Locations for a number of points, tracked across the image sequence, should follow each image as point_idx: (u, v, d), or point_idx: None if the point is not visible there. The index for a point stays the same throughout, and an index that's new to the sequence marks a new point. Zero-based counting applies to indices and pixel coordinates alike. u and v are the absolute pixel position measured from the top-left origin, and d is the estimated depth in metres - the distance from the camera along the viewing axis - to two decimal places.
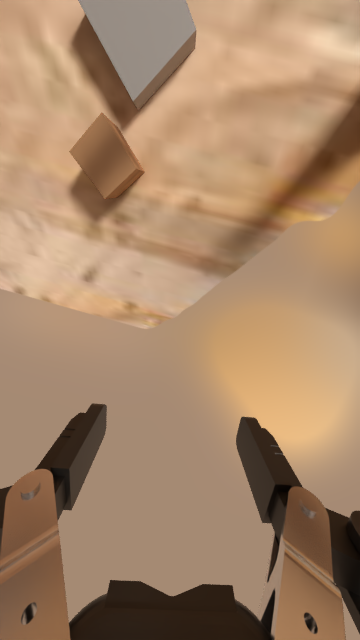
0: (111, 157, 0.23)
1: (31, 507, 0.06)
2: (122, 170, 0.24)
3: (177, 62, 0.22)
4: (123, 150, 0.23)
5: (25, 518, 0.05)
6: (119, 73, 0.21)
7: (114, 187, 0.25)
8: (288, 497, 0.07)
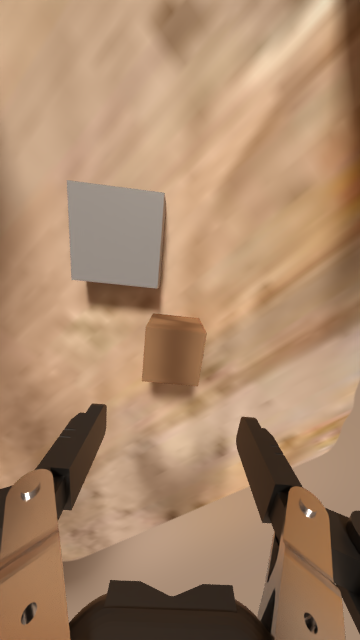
0: (178, 349, 0.18)
1: (32, 507, 0.06)
2: (195, 348, 0.18)
3: (163, 226, 0.20)
4: (184, 333, 0.18)
5: (25, 518, 0.05)
6: (134, 284, 0.19)
7: (199, 368, 0.19)
8: (288, 497, 0.07)
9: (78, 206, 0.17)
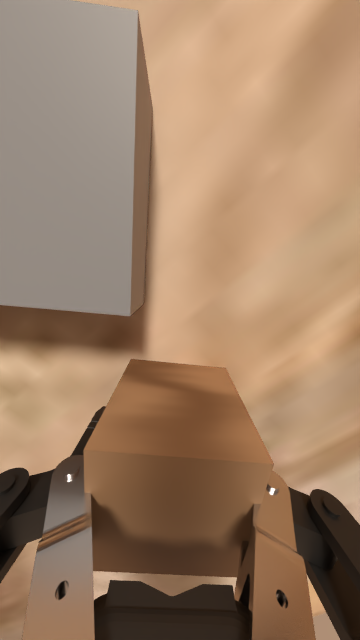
0: (187, 502, 0.06)
1: (70, 489, 0.06)
2: (237, 499, 0.06)
3: (146, 159, 0.08)
4: (204, 463, 0.06)
5: (71, 496, 0.06)
6: (68, 306, 0.07)
7: None
8: None
9: None
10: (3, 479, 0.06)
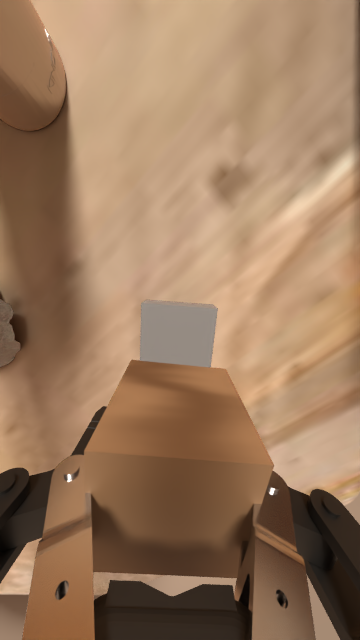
0: (187, 503, 0.06)
1: (71, 488, 0.06)
2: (237, 500, 0.06)
3: None
4: (205, 465, 0.06)
5: (71, 496, 0.06)
6: None
7: None
8: None
9: (149, 320, 0.22)
10: (3, 479, 0.06)
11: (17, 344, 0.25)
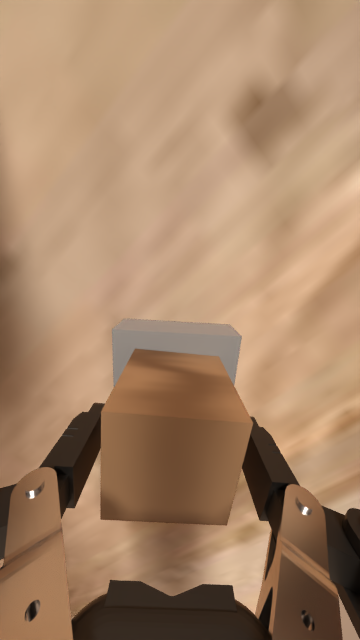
0: (183, 456, 0.08)
1: (35, 505, 0.06)
2: (224, 454, 0.08)
3: None
4: (197, 423, 0.07)
5: (30, 515, 0.05)
6: None
7: (231, 493, 0.08)
8: (285, 495, 0.07)
9: (126, 357, 0.13)
10: None
11: None
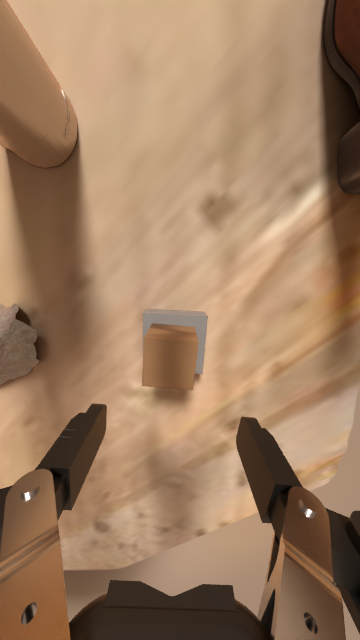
0: (174, 356, 0.20)
1: (31, 507, 0.06)
2: (189, 355, 0.20)
3: None
4: (178, 342, 0.20)
5: (25, 518, 0.05)
6: None
7: (193, 373, 0.21)
8: (288, 497, 0.07)
9: (149, 327, 0.26)
10: None
11: (37, 361, 0.29)
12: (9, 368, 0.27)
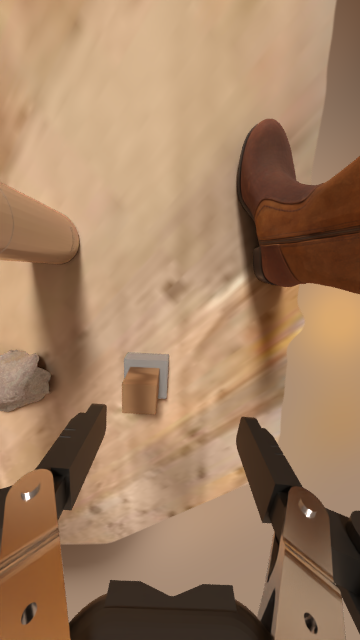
0: (141, 394, 0.32)
1: (32, 507, 0.06)
2: (151, 393, 0.32)
3: None
4: (143, 385, 0.32)
5: (25, 518, 0.05)
6: None
7: (154, 404, 0.33)
8: (288, 497, 0.07)
9: (128, 368, 0.38)
10: None
11: (48, 393, 0.41)
12: (30, 398, 0.39)
